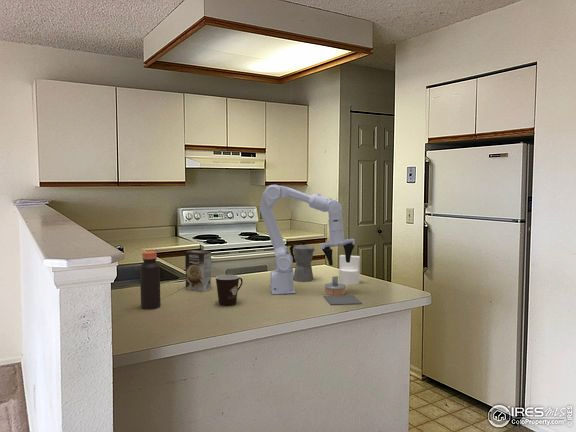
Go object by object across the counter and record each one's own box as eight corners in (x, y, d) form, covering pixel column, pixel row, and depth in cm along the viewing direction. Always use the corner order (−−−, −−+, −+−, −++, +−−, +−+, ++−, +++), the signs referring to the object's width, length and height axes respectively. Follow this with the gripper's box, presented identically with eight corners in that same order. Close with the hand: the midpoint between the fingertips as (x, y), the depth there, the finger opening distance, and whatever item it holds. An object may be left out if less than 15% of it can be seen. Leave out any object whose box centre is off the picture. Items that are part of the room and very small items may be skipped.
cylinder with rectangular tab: (336, 283, 202) (337, 257, 201) (342, 279, 210) (342, 253, 209) (356, 285, 199) (357, 258, 198) (361, 281, 207) (362, 255, 206)
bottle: (138, 306, 166) (136, 251, 164) (156, 303, 170) (155, 250, 169) (144, 310, 161) (143, 254, 159) (163, 307, 165) (162, 252, 163)
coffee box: (184, 289, 190) (184, 251, 189) (193, 286, 196) (193, 249, 195) (203, 292, 187) (203, 253, 186) (212, 288, 193) (211, 250, 191)
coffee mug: (220, 308, 164) (220, 280, 164) (212, 302, 172) (212, 276, 171) (250, 304, 170) (250, 277, 169) (241, 298, 177) (241, 273, 176)
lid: (327, 289, 181) (327, 279, 181) (322, 284, 189) (322, 275, 189) (347, 289, 182) (348, 279, 182) (342, 284, 191) (342, 274, 190)
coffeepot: (321, 280, 208) (321, 241, 206) (306, 283, 202) (307, 243, 200) (296, 275, 219) (297, 237, 217) (282, 278, 213) (282, 239, 211)
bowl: (328, 295, 182) (328, 289, 182) (323, 291, 189) (323, 285, 189) (346, 295, 183) (346, 288, 183) (341, 290, 190) (341, 284, 190)
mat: (330, 305, 168) (330, 304, 168) (323, 296, 180) (323, 295, 180) (362, 304, 170) (362, 303, 170) (352, 295, 182) (352, 294, 182)
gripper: (323, 233, 178) (327, 268, 179) (357, 228, 183) (360, 262, 184) (316, 232, 185) (320, 265, 186) (349, 227, 190) (352, 259, 191)
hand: (339, 263), depth 186 cm, fingers open, 7 cm apart
